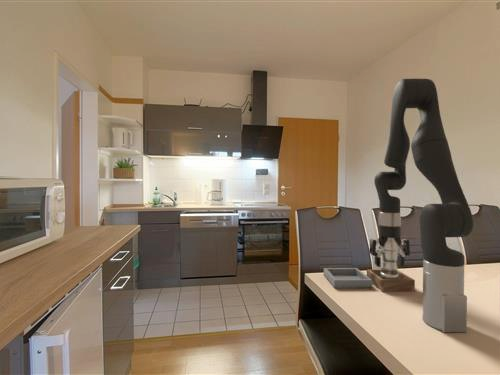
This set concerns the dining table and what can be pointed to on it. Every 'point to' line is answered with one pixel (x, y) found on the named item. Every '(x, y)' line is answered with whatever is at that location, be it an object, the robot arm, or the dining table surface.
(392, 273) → the plastic bottle
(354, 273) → the grey tray
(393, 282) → the walnut collar
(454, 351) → the dining table surface
